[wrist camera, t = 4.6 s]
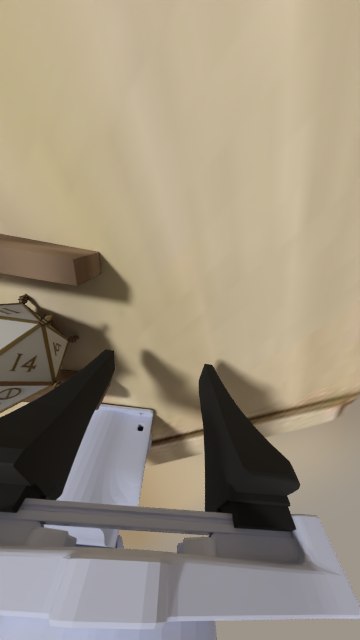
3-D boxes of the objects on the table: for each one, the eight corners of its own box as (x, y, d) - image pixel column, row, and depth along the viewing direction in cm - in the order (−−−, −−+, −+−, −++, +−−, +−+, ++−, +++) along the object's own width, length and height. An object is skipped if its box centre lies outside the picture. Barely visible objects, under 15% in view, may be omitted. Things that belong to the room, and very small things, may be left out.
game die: (74, 293, 17) (55, 286, 8) (86, 368, 18) (81, 432, 9) (-61, 298, 12) (-426, 296, 4) (-31, 396, 14) (-245, 563, 5)
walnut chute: (99, 252, 11) (72, 259, 8) (110, 384, 18) (97, 410, 16) (-90, 217, 10) (-184, 213, 8) (0, 370, 17) (-32, 395, 15)
